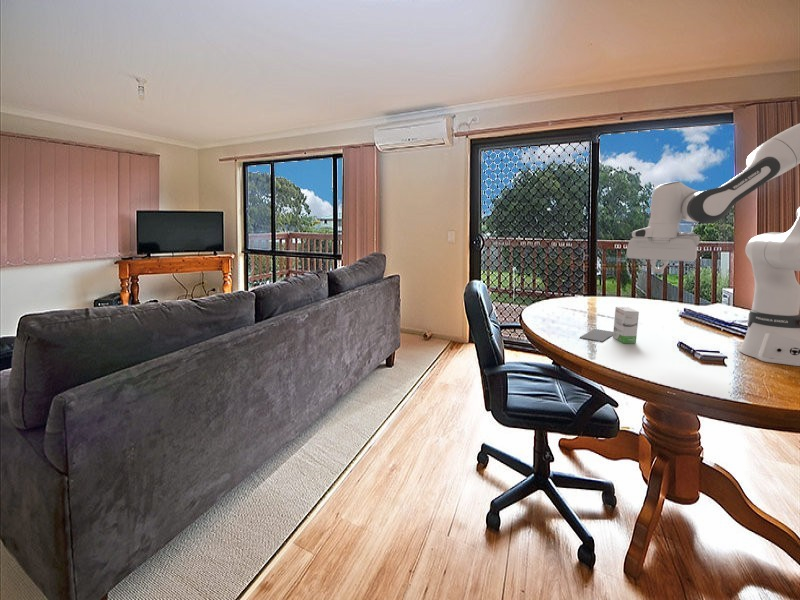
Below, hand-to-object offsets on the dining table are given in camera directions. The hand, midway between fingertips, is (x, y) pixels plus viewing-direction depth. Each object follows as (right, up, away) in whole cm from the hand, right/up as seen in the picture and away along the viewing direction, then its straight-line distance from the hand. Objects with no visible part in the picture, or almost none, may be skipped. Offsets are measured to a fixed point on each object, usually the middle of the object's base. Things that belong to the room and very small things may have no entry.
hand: (658, 273), depth 140 cm
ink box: (-6, -24, +10) cm, 27 cm away
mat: (-13, -23, +16) cm, 31 cm away
